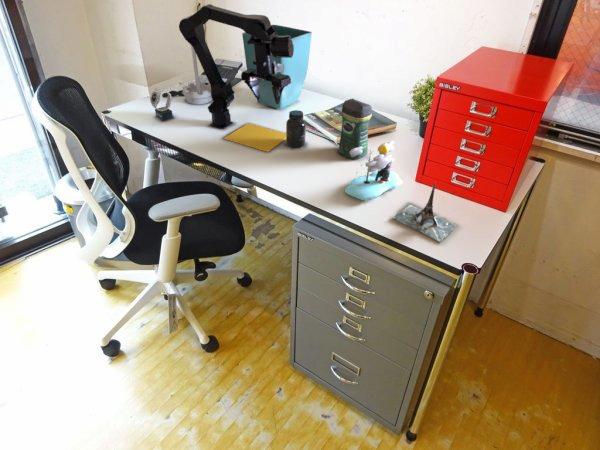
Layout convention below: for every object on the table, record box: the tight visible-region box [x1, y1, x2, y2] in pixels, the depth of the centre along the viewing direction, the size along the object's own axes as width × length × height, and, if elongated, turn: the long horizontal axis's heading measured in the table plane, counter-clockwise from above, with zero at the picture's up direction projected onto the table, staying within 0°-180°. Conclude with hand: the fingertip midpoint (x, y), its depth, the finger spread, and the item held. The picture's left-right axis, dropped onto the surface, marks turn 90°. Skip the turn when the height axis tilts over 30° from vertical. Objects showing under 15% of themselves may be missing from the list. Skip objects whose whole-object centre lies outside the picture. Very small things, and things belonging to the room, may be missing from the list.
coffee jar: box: [338, 98, 373, 160], centre depth 147 cm, size 10×8×19 cm
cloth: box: [224, 122, 286, 153], centre depth 161 cm, size 19×15×1 cm
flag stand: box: [181, 44, 213, 105], centre depth 180 cm, size 13×13×30 cm
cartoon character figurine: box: [344, 140, 403, 201], centre depth 130 cm, size 20×11×15 cm, turn 126°
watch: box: [149, 88, 174, 122], centre depth 170 cm, size 6×8×11 cm
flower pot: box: [241, 24, 313, 110], centre depth 180 cm, size 20×20×28 cm
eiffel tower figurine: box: [392, 183, 458, 243], centre depth 117 cm, size 15×10×13 cm
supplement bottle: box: [285, 109, 307, 149], centre depth 153 cm, size 7×7×12 cm
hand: (267, 101), depth 158 cm, fingers open, 9 cm apart
